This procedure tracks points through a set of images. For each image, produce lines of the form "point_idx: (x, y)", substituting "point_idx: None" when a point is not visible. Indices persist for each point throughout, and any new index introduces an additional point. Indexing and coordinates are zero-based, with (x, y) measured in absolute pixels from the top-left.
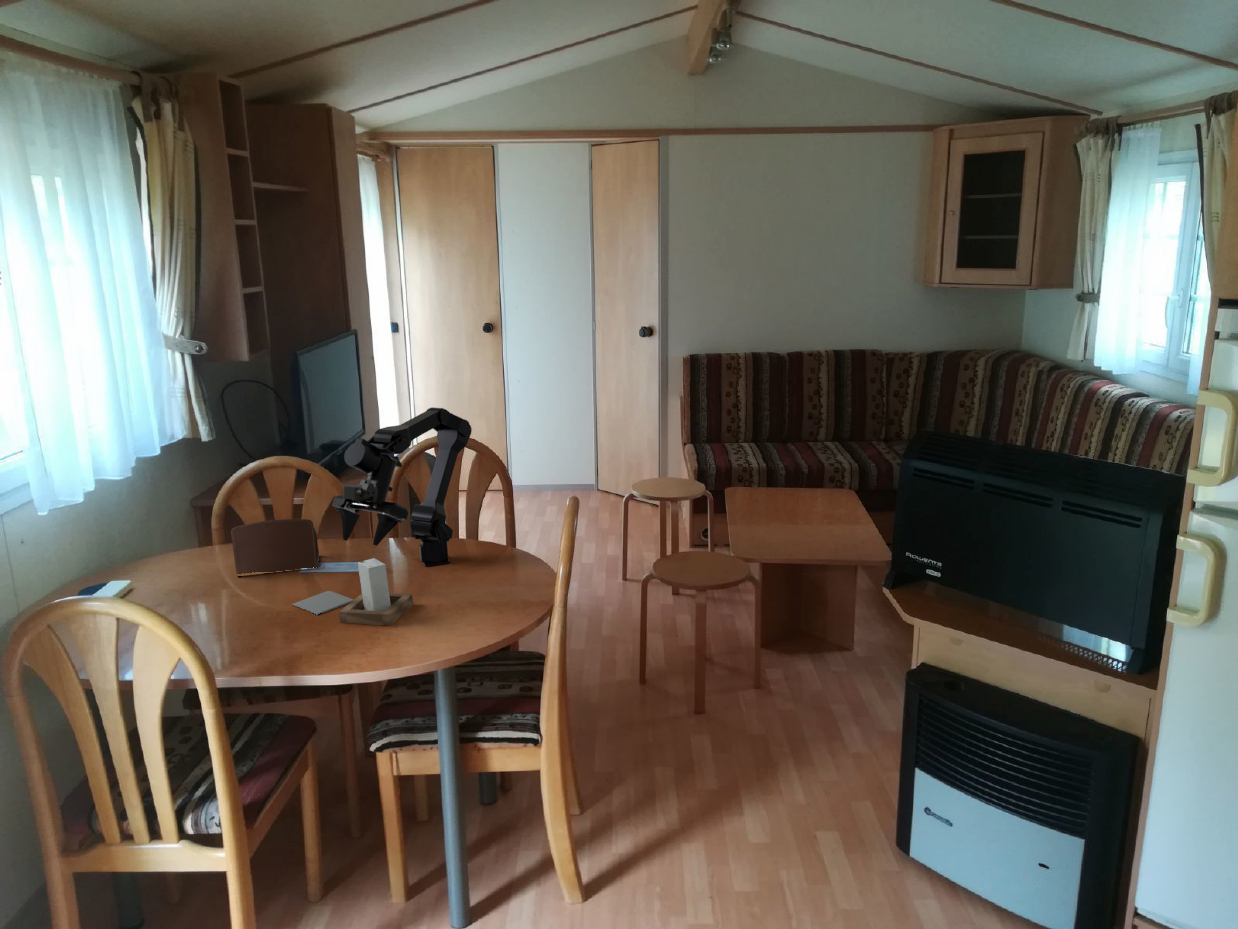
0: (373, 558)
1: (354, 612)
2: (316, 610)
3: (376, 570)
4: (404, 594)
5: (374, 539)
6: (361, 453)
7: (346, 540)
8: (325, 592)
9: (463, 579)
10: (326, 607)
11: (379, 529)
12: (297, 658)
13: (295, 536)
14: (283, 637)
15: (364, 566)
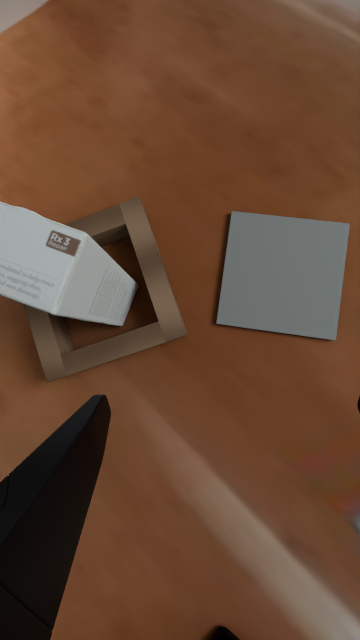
0: (51, 307)
1: (98, 214)
2: (250, 225)
3: None
4: (63, 370)
5: (85, 414)
6: None
7: (358, 401)
8: (332, 325)
9: None
10: (242, 250)
11: (1, 489)
12: (88, 43)
13: None
14: (201, 92)
15: (14, 206)
